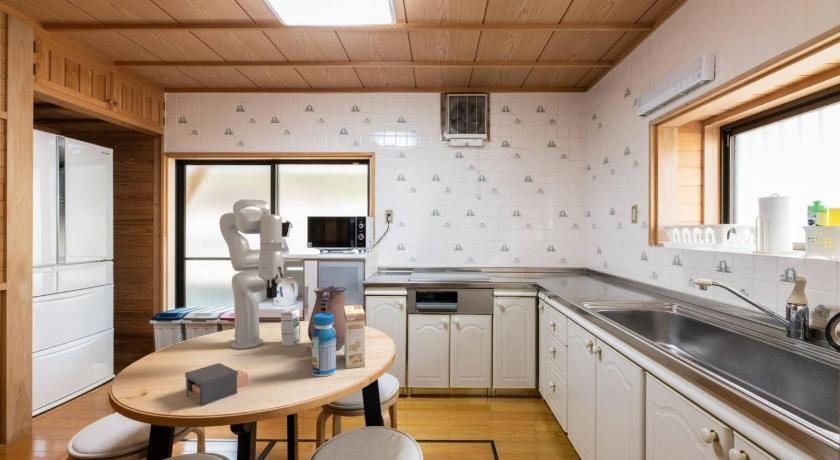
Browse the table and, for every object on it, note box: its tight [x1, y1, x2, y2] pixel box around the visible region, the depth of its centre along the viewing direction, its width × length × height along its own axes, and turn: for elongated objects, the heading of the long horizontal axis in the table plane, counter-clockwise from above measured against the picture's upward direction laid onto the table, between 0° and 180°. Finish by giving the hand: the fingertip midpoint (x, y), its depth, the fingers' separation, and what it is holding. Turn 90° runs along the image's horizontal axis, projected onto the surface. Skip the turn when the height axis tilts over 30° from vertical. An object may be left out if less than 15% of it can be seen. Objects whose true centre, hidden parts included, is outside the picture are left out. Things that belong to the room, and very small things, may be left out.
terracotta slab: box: [192, 369, 249, 394], centre depth 116 cm, size 6×14×4 cm, turn 143°
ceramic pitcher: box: [307, 285, 347, 351], centre depth 153 cm, size 18×21×25 cm
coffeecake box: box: [343, 304, 366, 369], centre depth 140 cm, size 15×7×20 cm, turn 14°
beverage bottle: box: [310, 313, 337, 377], centre depth 129 cm, size 8×8×20 cm
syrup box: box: [280, 308, 301, 347], centre depth 161 cm, size 6×6×14 cm
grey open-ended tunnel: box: [184, 362, 238, 407], centre depth 113 cm, size 12×10×7 cm
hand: (271, 297), depth 137 cm, fingers closed
